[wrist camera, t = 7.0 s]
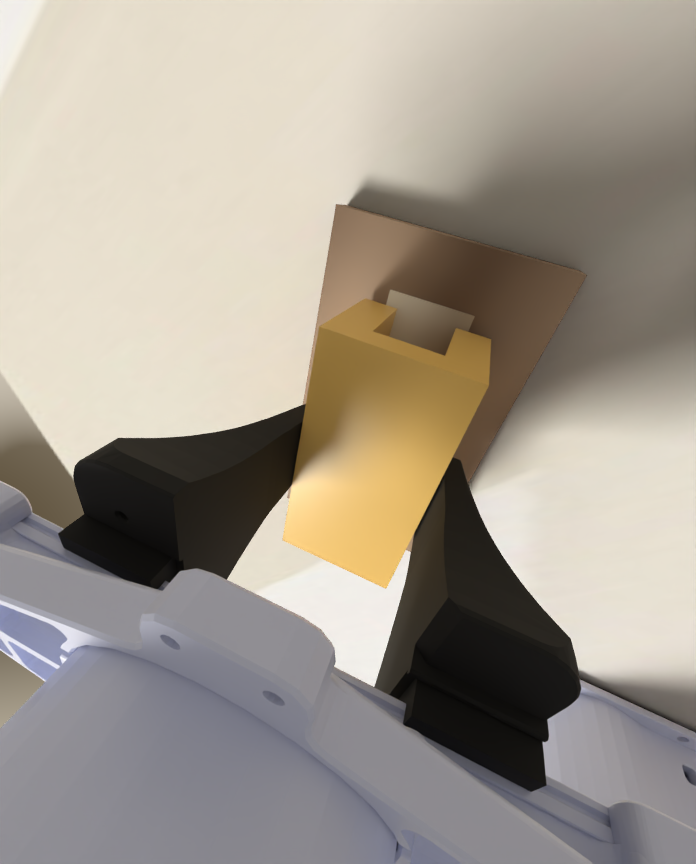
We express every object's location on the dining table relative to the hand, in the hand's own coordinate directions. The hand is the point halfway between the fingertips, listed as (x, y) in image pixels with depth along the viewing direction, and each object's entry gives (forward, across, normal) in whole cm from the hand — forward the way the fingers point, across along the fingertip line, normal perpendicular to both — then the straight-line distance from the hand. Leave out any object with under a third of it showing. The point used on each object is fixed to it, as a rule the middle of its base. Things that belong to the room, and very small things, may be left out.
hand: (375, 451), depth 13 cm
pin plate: (+3, 0, 0) cm, 3 cm away
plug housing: (+2, 0, 0) cm, 2 cm away
